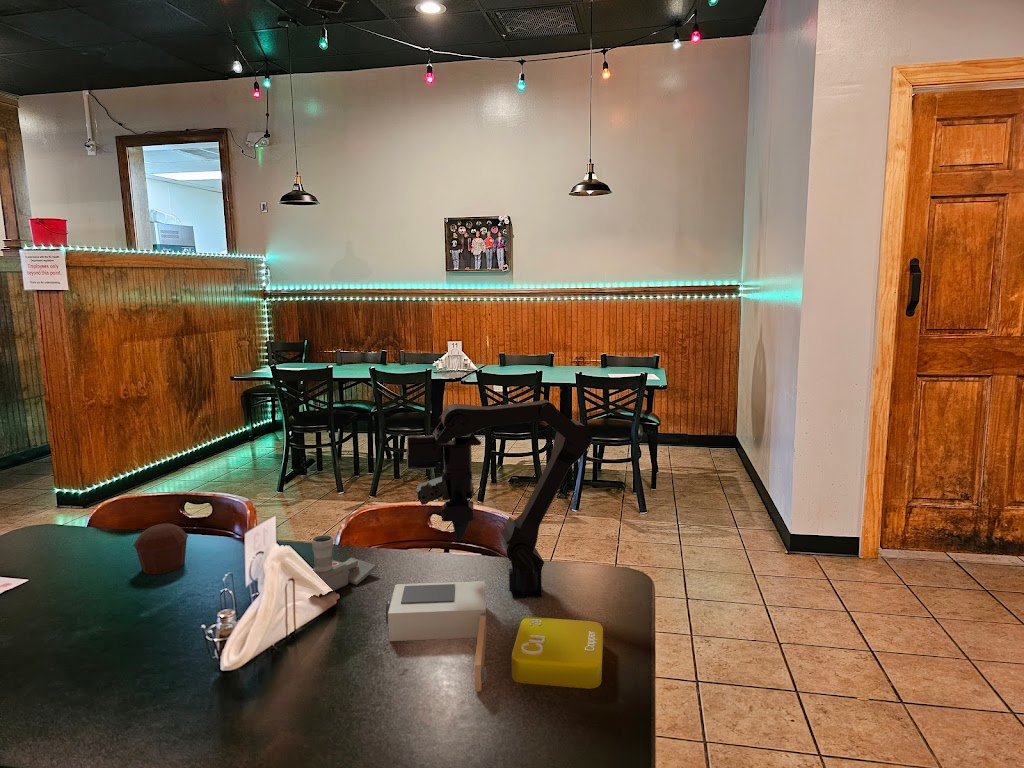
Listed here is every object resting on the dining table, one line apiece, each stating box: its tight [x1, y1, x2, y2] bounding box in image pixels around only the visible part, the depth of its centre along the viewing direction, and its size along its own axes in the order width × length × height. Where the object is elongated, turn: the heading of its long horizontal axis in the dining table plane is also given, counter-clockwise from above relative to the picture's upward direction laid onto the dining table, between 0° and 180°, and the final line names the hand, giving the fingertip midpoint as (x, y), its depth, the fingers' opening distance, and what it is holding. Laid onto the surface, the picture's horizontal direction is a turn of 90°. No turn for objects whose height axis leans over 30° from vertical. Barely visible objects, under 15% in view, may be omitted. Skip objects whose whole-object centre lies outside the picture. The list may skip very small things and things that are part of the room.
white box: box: [385, 580, 487, 642], centre depth 127 cm, size 19×12×6 cm, turn 93°
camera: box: [311, 534, 378, 592], centre depth 145 cm, size 9×12×15 cm
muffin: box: [132, 522, 189, 575], centre depth 155 cm, size 12×11×10 cm
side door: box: [473, 613, 487, 692], centre depth 113 cm, size 17×2×4 cm, turn 179°
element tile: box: [511, 616, 604, 690], centre depth 114 cm, size 15×15×5 cm
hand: (459, 539), depth 136 cm, fingers closed
